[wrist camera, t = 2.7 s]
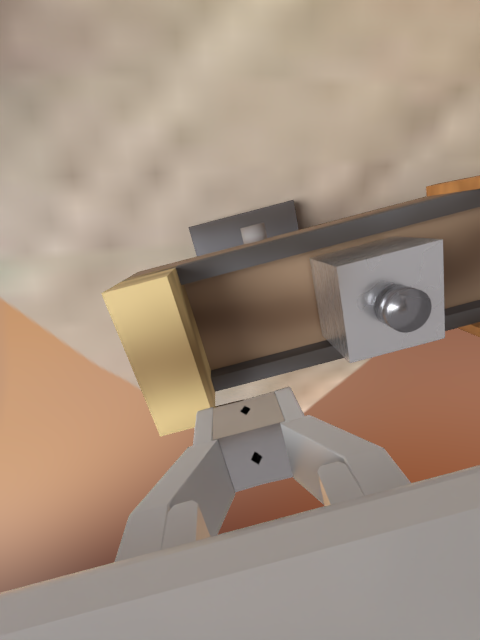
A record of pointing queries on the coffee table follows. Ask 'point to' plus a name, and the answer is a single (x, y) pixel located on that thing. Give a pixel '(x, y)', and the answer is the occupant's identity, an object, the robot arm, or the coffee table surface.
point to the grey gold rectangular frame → (271, 296)
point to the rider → (381, 296)
